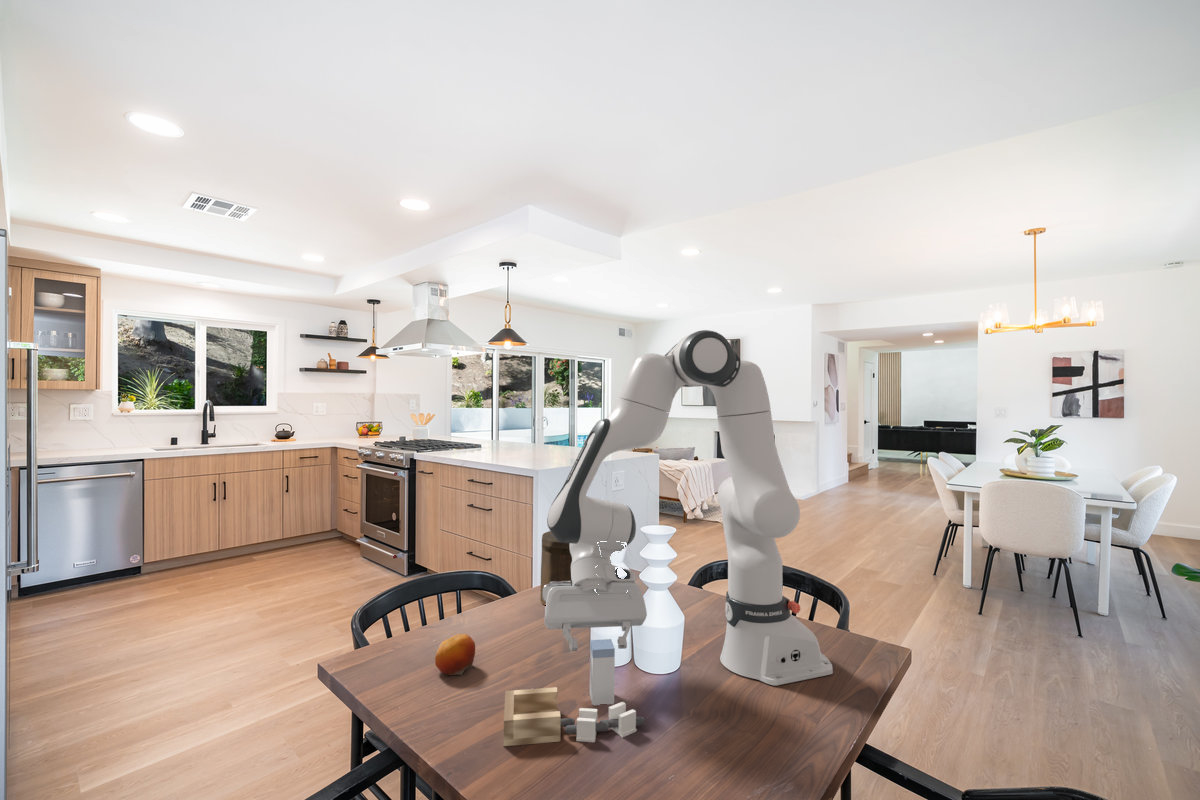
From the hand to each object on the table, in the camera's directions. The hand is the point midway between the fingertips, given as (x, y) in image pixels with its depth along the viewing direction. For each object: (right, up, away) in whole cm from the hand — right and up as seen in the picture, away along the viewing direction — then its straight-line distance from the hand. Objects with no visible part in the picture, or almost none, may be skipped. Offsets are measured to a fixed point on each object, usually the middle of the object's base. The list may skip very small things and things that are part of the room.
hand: (598, 648), depth 101 cm
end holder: (-11, -8, -11) cm, 18 cm away
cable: (0, -7, -12) cm, 14 cm away
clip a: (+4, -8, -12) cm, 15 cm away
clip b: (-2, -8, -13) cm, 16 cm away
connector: (+1, -8, -3) cm, 8 cm away
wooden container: (-9, -9, +48) cm, 49 cm away
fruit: (-29, -8, +8) cm, 31 cm away
